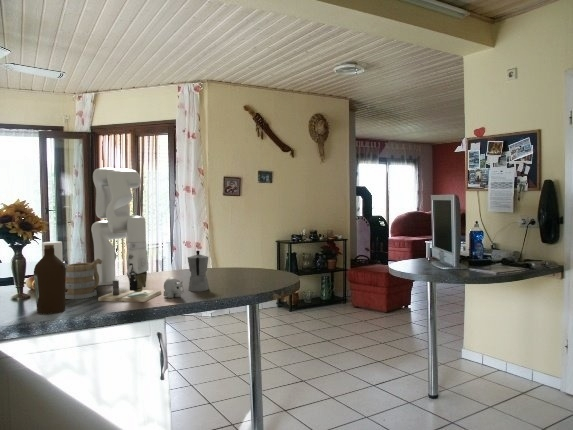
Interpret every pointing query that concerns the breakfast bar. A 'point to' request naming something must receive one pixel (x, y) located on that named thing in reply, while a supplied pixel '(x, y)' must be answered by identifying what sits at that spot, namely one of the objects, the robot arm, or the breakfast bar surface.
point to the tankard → (82, 280)
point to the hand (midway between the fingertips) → (137, 288)
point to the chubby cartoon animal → (173, 287)
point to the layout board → (128, 294)
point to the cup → (141, 281)
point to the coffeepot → (198, 272)
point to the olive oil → (50, 283)
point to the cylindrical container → (56, 249)
